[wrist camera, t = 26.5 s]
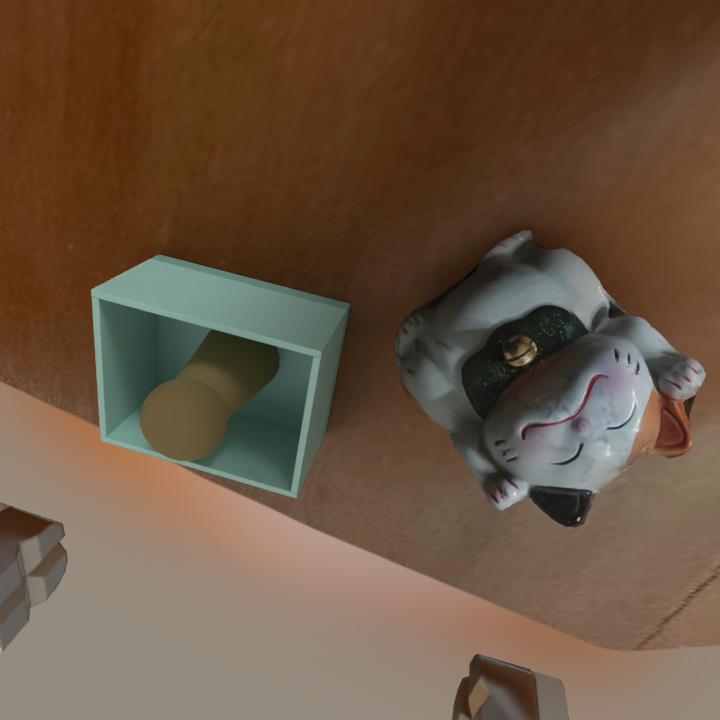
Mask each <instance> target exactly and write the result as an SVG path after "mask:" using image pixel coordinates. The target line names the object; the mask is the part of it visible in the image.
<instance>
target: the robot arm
mask: <svg viewBox="0 0 720 720" xmlns="http://www.w3.org/2000/svg"><path fill="white" fill-rule="evenodd" d="M64 536H65V533H64V527H63V524H62V523H59V522H56V521H53V520H50V519H47V518H44V517H41V516H38V515H35V514H32V513H29V512H26V511H23V510H20V509H17V508H15V507H12V506H9V505H6V504H3V503H0V653H1V652H3V650H4V649H5V648H6V647H7V646H8V645H9V643H10V642H11V641H12V640H13V639H14V638H15V636H16V635H17V634H18V633H19V632H20V631H21V629H22V628H23V627H24V626H25V625H26V624H27V622H28V621H29V616H30V608H31V607H33V606H35V605H37V604H39V603H41V602H43V601H46V600H47V599H48V598H49V596H50V595H51V594H52V593H53V592H54V590H55V589H56V588H57V586H58V584H59V582H60V581H61V579H62V577H63V575H64V573H65V570H66V565H67V561H68V560H67V552H66V550H65V549H64V548H63V546H62V545H61V544H60V543H59V542H60V540H61V539H62V538H63V537H64ZM452 720H569V717H568V710H567V702H566V695H565V688H564V686H563V684H562V682H561V680H559V679H557V678H554V677H550V676H547V675H543V674H540V673H537V672H533V671H531V670H530V669H527V668H523V667H520V666H517V665H514V664H510V663H507V662H503V661H500V660H496V659H493V658H490V657H486V656H483V655H480V654H476V655H475V656H474V657H473V659H472V660H471V662H470V664H469V676H468V677H465V678H463V679H462V681H461V683H460V685H459V688H458V690H457V694H456V698H455V702H454V706H453V714H452Z"/></svg>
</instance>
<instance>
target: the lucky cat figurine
mask: <svg viewBox="0 0 720 720" xmlns="http://www.w3.org/2000/svg"><path fill="white" fill-rule="evenodd" d="M394 350H395V359H396V366H397V370H398V373H399V376H400V379H401V383H402V386H403V389H404V391H405V393H406V395H407V397H408V399H409V400H410V401H411V403H412V404H413V405H414V407H415V408H416V410H417V411H418V412H419V413H420V414H422V415H423V416H425V417H427V418H429V419H431V420H433V421H435V422H436V423H438V424H440V425H441V426H442V427H444V428H445V429H446V430H447V432H448V433H449V435H450V439H451V440H452V441H453V445H454V448H455V450H457V451H458V452H459V454H460V456H461V457H462V459H463V460H464V461H465V463H466V464H467V465H468V466H469V468H470V469H471V471H472V472H473V474H474V475H475V476H476V478H477V479H478V481H479V483H480V485H481V487H482V489H483V491H484V493H485V495H486V498H487V500H488V502H489V504H490V505H491V506H492V507H493V508H494V509H496V510H503V509H505V508H509V507H510V506H511V505H512V504H514V503H516V502H518V501H520V500H522V499H524V498H527V497H530V498H531V499H532V500H533V502H534V503H535V504H536V505H538V507H539V508H540V509H541V510H542V511H543V512H545V513H546V514H547V515H549V516H550V517H551V518H552V519H553V520H555V521H556V522H558V523H560V524H562V525H564V526H565V527H569V526H570V527H574V528H576V527H578V526H581V525H582V524H584V522H585V519H586V516H587V513H588V511H589V510H590V508H591V506H592V504H593V503H594V501H595V499H596V498H597V496H598V494H599V492H600V490H601V489H602V488H603V487H604V486H606V485H608V484H610V483H611V482H612V481H614V480H615V479H616V478H617V477H618V476H620V475H621V474H622V472H623V471H624V470H625V469H626V468H628V467H629V466H631V465H632V464H633V462H634V461H635V460H636V459H637V458H638V457H639V456H640V454H641V453H644V452H648V455H647V457H648V456H652V455H655V456H661V457H663V456H665V457H667V458H673V457H677V456H681V455H683V454H685V453H686V452H688V451H689V450H690V449H691V448H692V445H693V439H692V438H691V436H690V417H689V414H690V411H691V408H692V404H693V402H694V399H695V396H696V394H697V392H698V389H699V388H700V386H701V384H702V382H703V380H704V379H705V376H706V373H705V372H704V368H703V367H702V366H701V365H700V363H699V362H698V361H696V360H694V359H692V358H690V357H688V356H686V355H683V354H681V353H680V352H678V351H676V350H675V349H674V348H673V347H672V346H671V345H670V344H669V343H668V342H667V340H666V339H664V338H663V337H662V335H661V334H660V333H659V332H657V331H656V329H655V328H652V327H650V324H649V323H648V322H647V321H646V320H644V319H643V318H641V317H638V316H635V317H634V316H633V315H631V314H630V313H628V312H627V311H625V310H624V309H623V308H622V307H621V306H620V305H619V304H618V303H617V302H615V301H614V300H613V299H612V298H611V297H610V296H609V295H608V293H607V292H606V291H605V290H604V289H603V287H602V285H601V283H600V281H599V280H598V278H597V276H596V274H595V273H594V272H593V270H592V269H591V268H590V266H589V265H588V264H587V263H586V262H585V261H584V260H583V259H582V258H580V257H578V256H576V255H575V254H574V253H572V252H571V251H569V250H568V249H567V248H566V247H561V248H560V249H545V248H543V247H540V246H538V245H537V244H536V243H535V242H534V240H533V236H532V231H530V230H527V231H525V230H523V231H521V232H520V233H518V234H515V235H513V236H511V237H509V238H507V239H505V240H503V241H501V242H499V243H498V244H497V245H496V246H495V247H494V248H493V249H491V250H490V251H489V252H488V253H487V254H486V256H485V257H484V258H483V259H482V261H481V262H480V263H479V264H478V265H477V267H476V268H474V269H473V270H472V271H471V272H470V273H469V274H468V275H467V276H466V277H464V278H463V279H462V280H461V281H460V282H458V283H456V284H455V285H453V286H452V287H450V288H449V289H447V290H446V291H444V292H443V293H441V294H440V295H438V296H437V297H435V298H434V299H432V300H431V301H429V302H428V303H426V304H424V305H423V306H421V307H419V308H418V309H416V310H414V311H413V312H412V314H410V315H409V316H408V317H407V318H406V319H405V320H404V321H403V322H402V323H401V325H400V327H399V330H398V331H397V334H396V339H395V344H394Z"/></svg>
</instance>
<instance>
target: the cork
mask: <svg viewBox="0 0 720 720" xmlns="http://www.w3.org/2000/svg"><path fill="white" fill-rule="evenodd" d="M279 361H280V357H279V353H278V349H277V346H273V345H270V344H266V343H262V342H258V341H255V340H251V339H247V338H244V337H240V336H236V335H233V334H229V333H225V332H221V331H218V330H214V329H211V330H210V331H209V333H208V334H207V336H206V337H205V338H204V340H203V341H202V343H201V344H200V345H199V347H198V348H197V350H196V351H195V353H194V354H193V355H192V357H191V358H190V360H189V361H188V362H187V364H186V365H185V367H184V368H183V370H182V371H181V372H180V374H179V375H178V377H177V378H176V379H173V380H170V381H168V382H165V383H163V384H161V385H159V386H158V387H156V388H155V389H154V390H153V391H152V392H151V393H150V394H149V395H148V396H147V397H146V399H145V401H144V403H143V405H142V408H141V411H140V427H141V430H142V433H143V435H144V437H145V439H146V440H147V442H148V443H149V444H150V446H152V447H153V448H154V449H155V450H156V451H157V452H158V453H160V454H162V455H164V456H166V457H167V458H170V459H174V460H177V461H192V460H196V459H199V458H202V457H204V456H206V455H207V454H209V453H210V452H211V451H212V450H214V449H215V448H216V447H217V446H218V444H219V443H220V441H221V439H222V437H223V435H224V433H225V430H226V427H227V420H228V419H229V418H230V417H231V416H232V415H233V414H235V413H236V412H237V411H238V410H239V409H240V408H241V407H242V406H243V405H245V404H246V403H247V402H248V401H249V400H250V399H251V398H252V397H253V396H255V395H256V394H257V393H258V392H259V391H260V390H261V389H262V388H263V387H265V386H266V385H267V384H268V383H269V382H270V381H271V380H272V379H273V378H274V377H275V375H276V373H277V371H278V369H279Z"/></svg>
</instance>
